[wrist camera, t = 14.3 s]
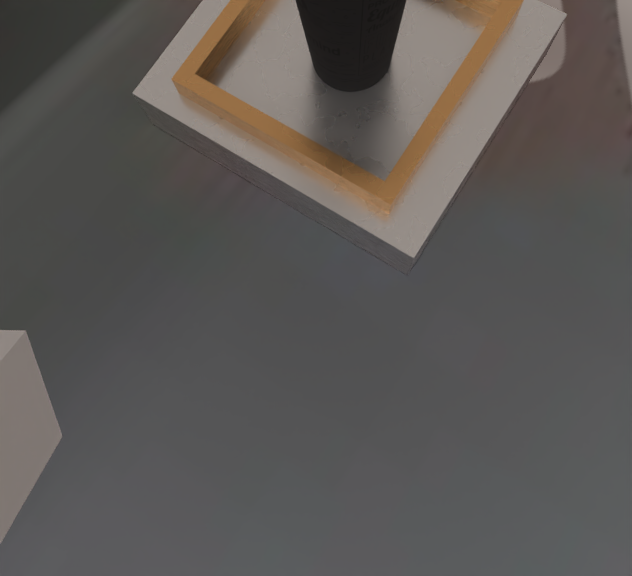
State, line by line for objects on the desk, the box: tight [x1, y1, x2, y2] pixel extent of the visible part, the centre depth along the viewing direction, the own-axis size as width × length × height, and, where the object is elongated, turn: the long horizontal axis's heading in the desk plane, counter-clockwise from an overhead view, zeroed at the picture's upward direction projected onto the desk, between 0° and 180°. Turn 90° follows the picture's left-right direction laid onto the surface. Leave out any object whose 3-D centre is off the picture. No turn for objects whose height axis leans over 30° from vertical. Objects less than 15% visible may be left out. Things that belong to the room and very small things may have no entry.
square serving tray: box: [132, 0, 567, 275], centre depth 37 cm, size 20×21×6 cm
